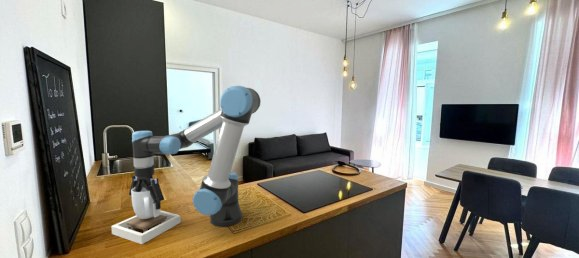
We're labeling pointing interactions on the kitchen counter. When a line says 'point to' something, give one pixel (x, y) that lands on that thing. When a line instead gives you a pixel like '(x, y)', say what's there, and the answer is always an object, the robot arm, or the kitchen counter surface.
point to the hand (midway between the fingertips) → (147, 213)
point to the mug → (142, 203)
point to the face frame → (141, 238)
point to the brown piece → (146, 222)
